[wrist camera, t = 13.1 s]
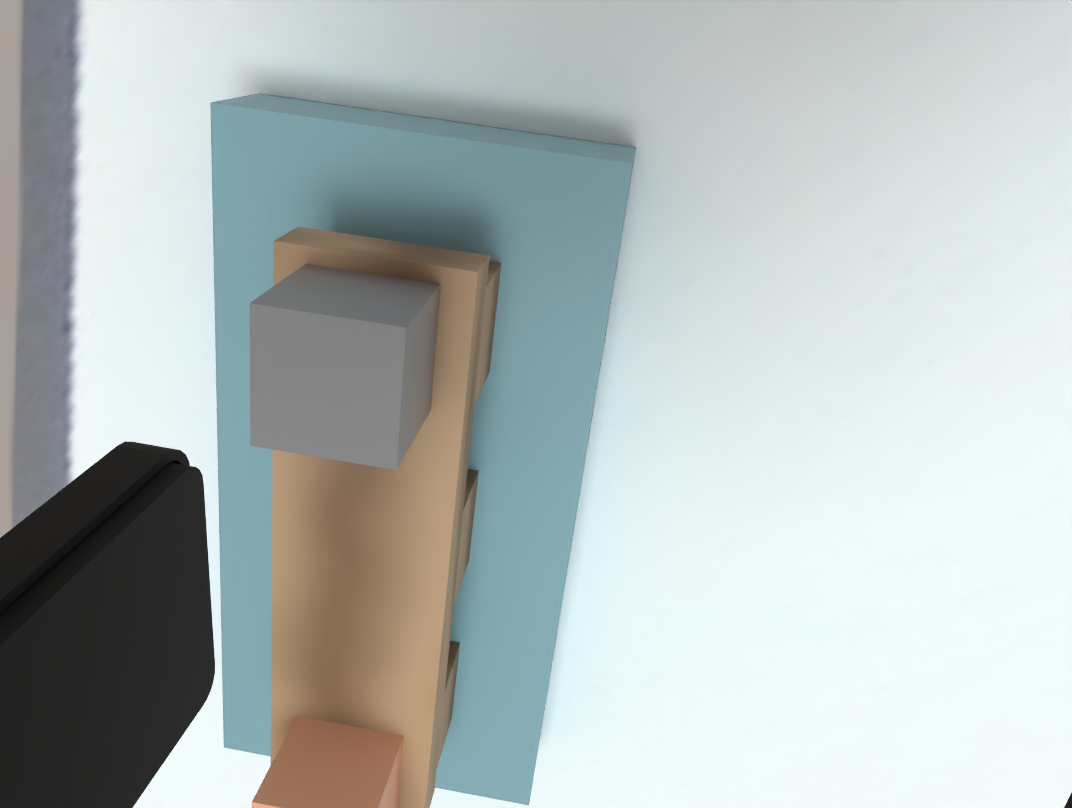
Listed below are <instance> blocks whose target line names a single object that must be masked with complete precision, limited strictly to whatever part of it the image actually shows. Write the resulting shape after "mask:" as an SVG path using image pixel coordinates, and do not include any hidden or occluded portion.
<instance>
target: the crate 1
mask: <svg viewBox="0 0 1072 808" xmlns="http://www.w3.org/2000/svg"><path fill="white" fill-rule="evenodd" d="M440 291H441V284H435V283H429V282H422V281H416V280H409V279H402V278H396V277H389V276H383V275H376V274H370V273H363V272H357V271H350V270H344V269H337V268H331V267H324V266H318V265H311V264H305V265H303V266H302V267H300V268H299V269H298V270H296V271H295V272H293V273H292V274H290V275H289V276H288V277H286V278H285V279H283V280H282V281H280V282H279V283H278V284H276V285H275V286H273V287H272V288H270V289H269V290H268V291H266V292H265V293H263V294H262V295H260V296H259V297H258V298H256V299H255V300H253V301H252V302H250V303H249V306H250V446H254V447H260V448H266V449H272V450H278V451H284V452H290V453H296V454H302V455H308V456H314V457H320V458H326V459H332V460H338V461H344V462H350V463H356V464H362V465H368V466H374V467H380V468H386V469H392V470H397V468H398V467H399V465H400V463H401V462H402V460H403V458H404V456H405V455H406V453H407V451H408V449H409V448H410V446H411V444H412V442H413V441H414V439H415V437H416V435H417V434H418V432H419V430H420V428H421V427H422V425H423V423H424V421H425V420H426V418H427V416H428V414H429V413H430V411H431V401H432V389H433V376H434V364H435V352H436V340H437V328H438V315H439V303H440Z"/></svg>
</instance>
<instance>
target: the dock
mask: <svg viewBox="0 0 1072 808" xmlns="http://www.w3.org/2000/svg"><path fill="white" fill-rule="evenodd" d="M211 147H212V195H213V243H214V292H215V340H216V388H217V437H218V485H219V533H220V582H221V630H222V678H223V727H224V747H225V748H230V749H235V750H241V751H246V752H251V753H256V754H262V755H267V756H271V627H272V449H266V448H260V447H254V446H250V306H249V303H250V302H252V301H253V300H255V299H256V298H258V297H259V296H260V295H262V294H263V293H265V292H266V291H268V290H269V289H270V288H272V287H273V245H274V240H276V239H278V238H279V237H281V236H283V235H285V234H286V233H288V232H290V231H292V230H293V229H295V228H297V227H298V226H299V227H305V228H312V229H318V230H325V231H332V232H338V233H345V234H351V235H358V236H365V237H371V238H378V239H385V240H391V241H398V242H404V243H411V244H418V245H424V246H431V247H437V248H444V249H451V250H457V251H464V252H471V253H477V254H484V255H490V257H489V261H491V262H497V263H501V272H500V281H499V290H498V299H497V309H496V318H495V327H494V336H493V345H492V354H491V364H490V372H489V374H488V376H487V379H486V381H485V383H484V385H483V387H482V389H481V391H480V393H479V396H478V398H477V400H476V402H475V404H474V412H473V422H472V431H471V441H470V451H469V460H468V469H472V470H478V471H479V474H478V483H477V492H476V501H475V510H474V520H473V529H472V538H471V547H470V556H469V562H468V565H467V568H466V571H465V574H464V577H463V579H462V582H461V585H460V588H459V591H458V594H457V597H456V600H455V603H454V606H453V615H452V625H451V635H450V641H455V642H460V648H459V657H458V666H457V676H456V685H455V694H454V703H453V712H452V719H451V723H450V726H449V729H448V733H447V736H446V740H445V743H444V747H443V750H442V753H441V757H440V760H439V764H438V767H437V771H436V780H435V787H436V788H441V789H446V790H451V791H457V792H462V793H467V794H472V795H478V796H483V797H488V798H494V799H499V800H504V801H509V802H515V803H520V804H525V805H529V801H530V795H531V789H532V782H533V776H534V770H535V764H536V758H537V752H538V746H539V739H540V733H541V727H542V721H543V715H544V709H545V703H546V696H547V690H548V684H549V678H550V672H551V666H552V660H553V653H554V647H555V641H556V635H557V629H558V623H559V617H560V610H561V604H562V598H563V592H564V586H565V580H566V574H567V567H568V561H569V555H570V549H571V543H572V537H573V531H574V524H575V518H576V512H577V506H578V500H579V494H580V488H581V481H582V475H583V469H584V463H585V457H586V451H587V445H588V438H589V432H590V426H591V420H592V414H593V408H594V402H595V395H596V389H597V383H598V377H599V371H600V365H601V358H602V352H603V346H604V340H605V334H606V328H607V322H608V315H609V309H610V303H611V297H612V291H613V285H614V279H615V272H616V266H617V260H618V254H619V248H620V242H621V236H622V229H623V223H624V217H625V211H626V205H627V199H628V193H629V186H630V180H631V174H632V168H633V162H634V155H635V149H636V148H635V147H628V146H621V145H614V144H607V143H600V142H593V141H586V140H579V139H572V138H565V137H558V136H551V135H544V134H537V133H530V132H523V131H516V130H509V129H502V128H495V127H488V126H481V125H474V124H467V123H460V122H454V121H447V120H440V119H433V118H426V117H419V116H412V115H405V114H398V113H391V112H384V111H377V110H370V109H363V108H356V107H349V106H342V105H335V104H328V103H321V102H314V101H307V100H300V99H293V98H286V97H279V96H272V95H265V94H254V95H249V96H244V97H238V98H233V99H228V100H222V101H217V102H212V103H211Z"/></svg>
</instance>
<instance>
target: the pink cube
mask: <svg viewBox="0 0 1072 808" xmlns="http://www.w3.org/2000/svg"><path fill="white" fill-rule="evenodd" d="M403 738H404V736H403V735H398V734H393V733H387V732H382V731H376V730H371V729H366V728H360V727H355V726H350V725H344V724H339V723H333V722H328V721H323V720H317V719H312V718H307V717H301V716H296V718H295V720H294V722H293V724H292V726H291V728H290V729H289V731H288V733H287V735H286V737H285V739H284V741H283V743H282V745H281V747H280V749H279V751H278V753H277V755H276V757H275V759H274V761H273V762H272V764H271V766H270V768H269V770H268V772H267V774H266V776H265V778H264V780H263V782H262V784H261V786H260V788H259V790H258V792H257V794H256V795H255V797H254V799H253V801H252V808H398V798H399V786H400V774H401V762H402V750H403Z"/></svg>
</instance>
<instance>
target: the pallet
mask: <svg viewBox="0 0 1072 808" xmlns="http://www.w3.org/2000/svg"><path fill="white" fill-rule="evenodd" d="M489 257H490V255H484V254H477V253H471V252H464V251H457V250H451V249H444V248H437V247H431V246H424V245H418V244H411V243H404V242H398V241H391V240H385V239H378V238H371V237H365V236H358V235H351V234H345V233H338V232H332V231H325V230H318V229H312V228H305V227H299V226H298V227H297V228H295V229H293V230H292V231H290V232H288V233H286V234H285V235H283V236H281V237H279V238H278V239H276V240H274V245H273V286H275V285H276V284H278V283H279V282H280V281H282V280H283V279H285V278H286V277H288V276H289V275H290V274H292V273H293V272H295V271H296V270H298V269H299V268H300V267H302V266H303V265H305V264H311V265H318V266H324V267H331V268H337V269H344V270H350V271H357V272H363V273H370V274H376V275H383V276H389V277H396V278H402V279H409V280H416V281H422V282H429V283H435V284H441V291H440V303H439V315H438V328H437V340H436V352H435V364H434V376H433V389H432V401H431V411H430V413H429V414H428V416H427V418H426V420H425V421H424V423H423V425H422V427H421V428H420V430H419V432H418V434H417V435H416V437H415V439H414V441H413V442H412V444H411V446H410V448H409V449H408V451H407V453H406V455H405V456H404V458H403V460H402V462H401V463H400V465H399V467H398V468H397V470H392V469H386V468H380V467H374V466H368V465H362V464H356V463H350V462H344V461H338V460H332V459H326V458H320V457H314V456H308V455H302V454H296V453H290V452H284V451H278V450H272V627H271V764H272V762H273V761H274V759H275V757H276V755H277V753H278V751H279V749H280V747H281V745H282V743H283V741H284V739H285V737H286V735H287V733H288V731H289V729H290V728H291V726H292V724H293V722H294V720H295V718H296V716H301V717H307V718H312V719H317V720H323V721H328V722H333V723H339V724H344V725H350V726H355V727H360V728H366V729H371V730H376V731H382V732H387V733H393V734H398V735H403V736H404V738H403V750H402V762H401V774H400V786H399V798H398V808H429V807H430V803H431V800H432V796H433V793H434V789H435V780H436V771H437V767H438V764H439V760H440V757H441V753H442V750H443V747H444V743H445V740H446V736H447V733H448V729H449V726H450V723H451V719H452V712H453V703H454V694H455V685H456V676H457V666H458V657H459V648H460V642H455V641H450V635H451V625H452V615H453V606H454V603H455V600H456V597H457V594H458V591H459V588H460V585H461V582H462V579H463V577H464V574H465V571H466V568H467V565H468V562H469V556H470V547H471V538H472V529H473V520H474V510H475V501H476V492H477V483H478V474H479V471H478V470H472V469H468V460H469V451H470V441H471V431H472V422H473V412H474V404H475V402H476V400H477V398H478V396H479V393H480V391H481V389H482V387H483V385H484V383H485V381H486V379H487V376H488V374H489V372H490V364H491V354H492V345H493V336H494V327H495V318H496V309H497V299H498V290H499V281H500V272H501V263H497V262H491V261H489Z"/></svg>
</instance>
